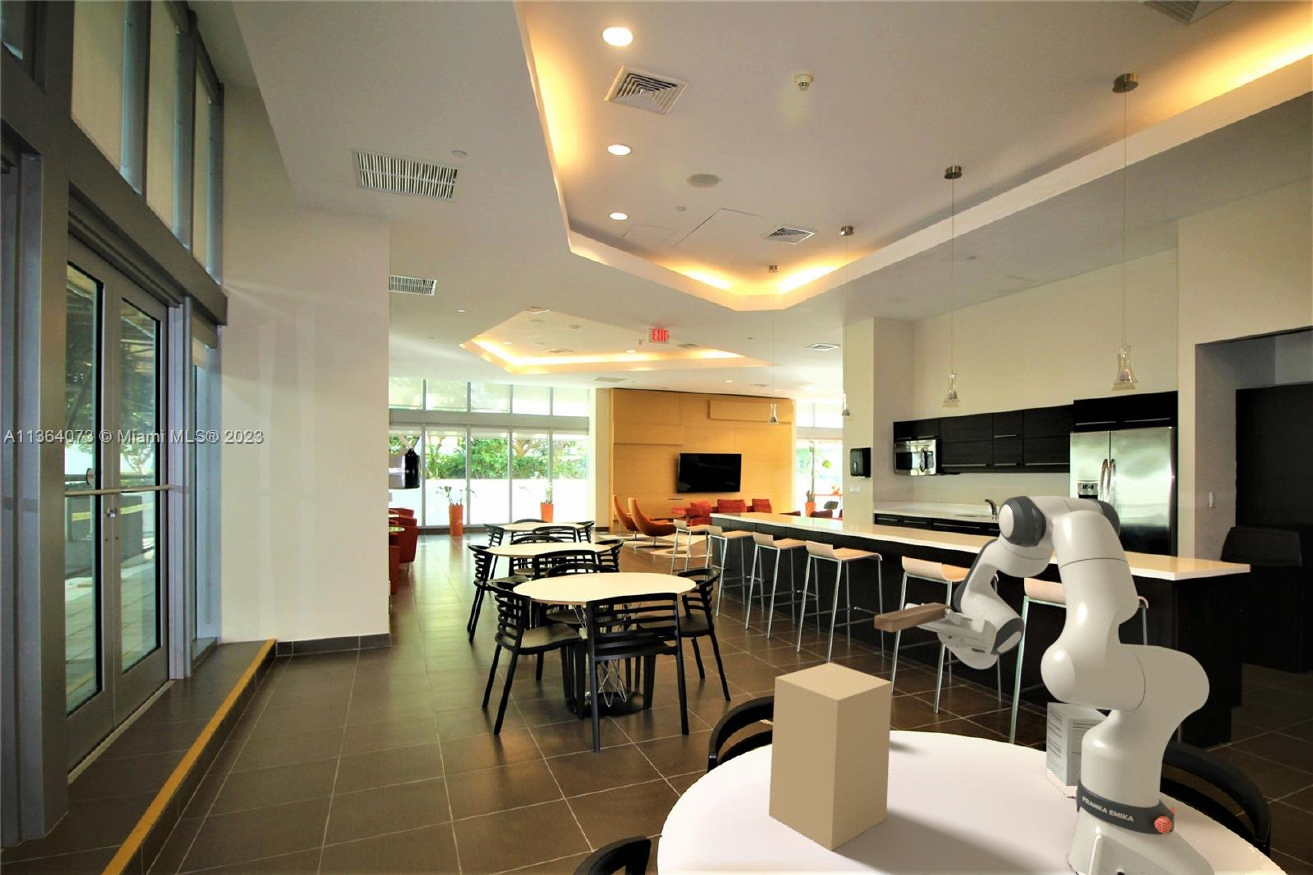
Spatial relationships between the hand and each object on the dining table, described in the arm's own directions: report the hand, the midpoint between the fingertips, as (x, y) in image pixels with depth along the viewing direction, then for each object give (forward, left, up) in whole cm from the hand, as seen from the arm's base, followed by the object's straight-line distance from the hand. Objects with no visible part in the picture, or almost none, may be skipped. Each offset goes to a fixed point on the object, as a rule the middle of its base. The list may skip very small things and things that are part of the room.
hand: (934, 609), depth 152 cm
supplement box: (-25, -17, -36) cm, 47 cm away
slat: (0, +9, -2) cm, 9 cm away
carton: (0, +39, -35) cm, 53 cm away
